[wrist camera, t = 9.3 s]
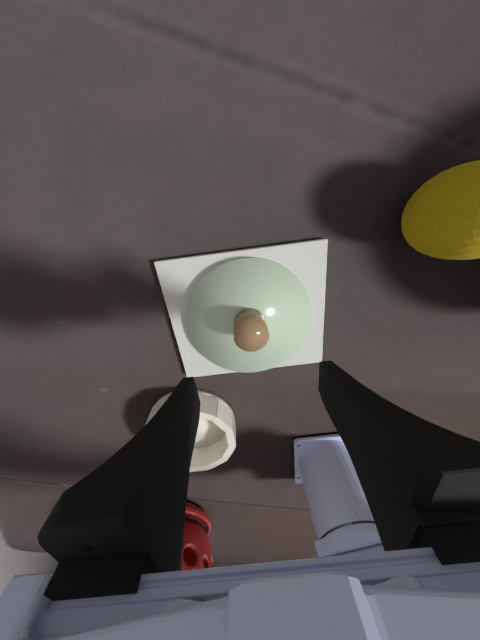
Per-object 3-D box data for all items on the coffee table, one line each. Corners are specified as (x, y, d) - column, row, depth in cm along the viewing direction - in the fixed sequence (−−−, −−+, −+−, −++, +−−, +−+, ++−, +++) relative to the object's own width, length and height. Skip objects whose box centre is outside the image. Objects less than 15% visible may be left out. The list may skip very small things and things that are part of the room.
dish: (239, 443, 29) (240, 466, 26) (163, 451, 29) (156, 475, 26) (228, 384, 25) (227, 405, 22) (139, 394, 25) (127, 416, 22)
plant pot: (194, 540, 40) (180, 659, 30) (124, 521, 37) (79, 650, 26) (234, 506, 36) (235, 633, 25) (158, 482, 32) (121, 618, 22)
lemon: (364, 230, 18) (452, 242, 11) (415, 155, 16) (566, 109, 9) (413, 261, 19) (521, 290, 12) (467, 195, 17) (637, 183, 10)
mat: (319, 358, 23) (321, 361, 23) (188, 373, 24) (187, 377, 23) (324, 238, 18) (327, 239, 18) (156, 260, 19) (153, 262, 18)
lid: (305, 365, 23) (315, 387, 20) (196, 371, 23) (190, 394, 20) (315, 253, 18) (331, 260, 15) (177, 260, 18) (166, 269, 15)
